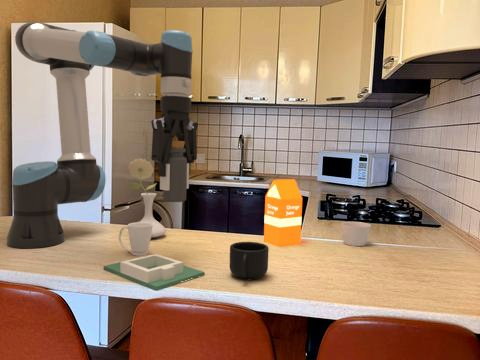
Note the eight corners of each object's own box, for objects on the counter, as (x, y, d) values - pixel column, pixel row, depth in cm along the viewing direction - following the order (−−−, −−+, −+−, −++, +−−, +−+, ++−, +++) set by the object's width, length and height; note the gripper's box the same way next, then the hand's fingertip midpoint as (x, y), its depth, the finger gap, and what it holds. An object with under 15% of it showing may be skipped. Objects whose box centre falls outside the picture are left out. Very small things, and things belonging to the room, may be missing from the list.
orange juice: (300, 243, 131) (303, 180, 129) (279, 247, 126) (281, 180, 124) (284, 238, 138) (287, 177, 136) (263, 241, 133) (265, 178, 131)
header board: (103, 269, 100) (103, 255, 100) (151, 257, 111) (151, 245, 110) (156, 290, 87) (156, 275, 87) (204, 275, 98) (204, 261, 97)
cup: (145, 258, 110) (145, 227, 110) (112, 254, 113) (112, 224, 112) (157, 251, 117) (158, 223, 116) (125, 248, 120) (126, 220, 119)
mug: (233, 268, 104) (234, 240, 103) (269, 271, 102) (270, 242, 101) (222, 284, 92) (223, 252, 91) (263, 288, 90) (264, 256, 90)
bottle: (158, 199, 106) (158, 140, 105) (176, 197, 111) (176, 140, 109) (173, 202, 102) (173, 141, 101) (191, 200, 107) (192, 141, 105)
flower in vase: (171, 234, 139) (172, 158, 137) (157, 242, 128) (158, 160, 125) (135, 231, 142) (136, 157, 139) (118, 238, 131) (118, 158, 128)
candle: (358, 239, 139) (359, 221, 138) (375, 246, 130) (376, 226, 130) (335, 241, 136) (336, 222, 135) (350, 248, 127) (351, 227, 127)
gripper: (156, 91, 94) (155, 193, 97) (212, 99, 109) (210, 187, 111) (135, 93, 99) (134, 190, 101) (192, 100, 114) (190, 185, 116)
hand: (174, 188), depth 106 cm, fingers closed on bottle, 6 cm apart
